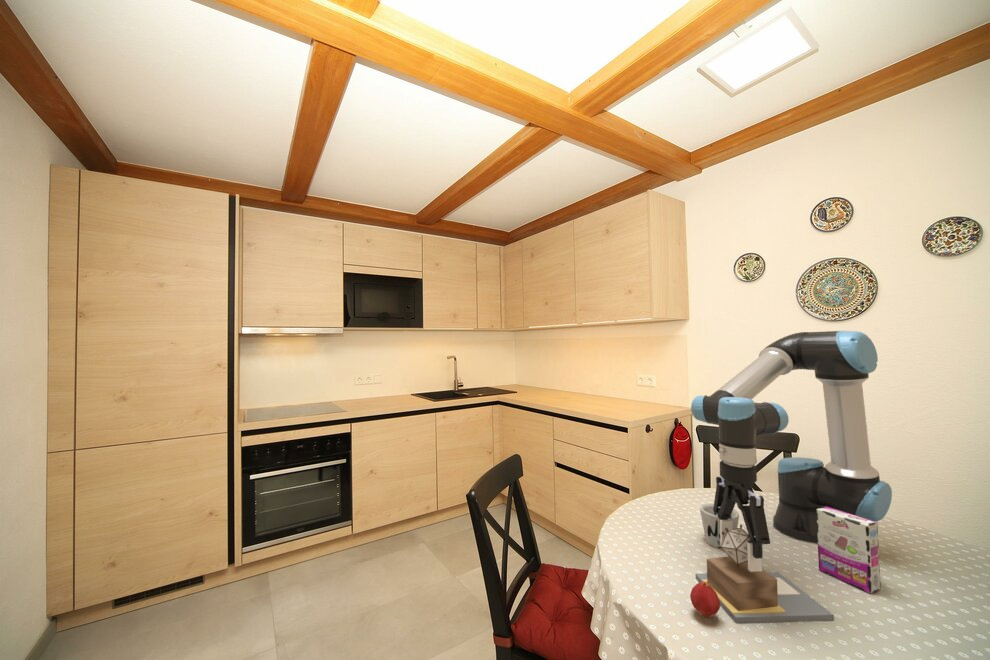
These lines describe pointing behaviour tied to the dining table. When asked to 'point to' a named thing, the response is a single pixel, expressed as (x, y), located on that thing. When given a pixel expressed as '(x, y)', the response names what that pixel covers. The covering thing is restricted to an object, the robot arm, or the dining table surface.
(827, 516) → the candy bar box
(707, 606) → the red oval piece
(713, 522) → the mug
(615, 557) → the dining table surface
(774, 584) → the walnut slab
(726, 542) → the game die
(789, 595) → the board
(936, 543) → the dining table surface
